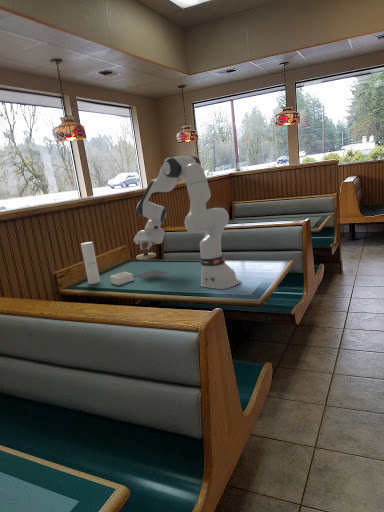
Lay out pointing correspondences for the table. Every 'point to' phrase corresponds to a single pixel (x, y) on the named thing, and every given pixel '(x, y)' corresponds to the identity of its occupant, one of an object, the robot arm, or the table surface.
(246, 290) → the table surface
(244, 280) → the table surface
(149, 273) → the mat
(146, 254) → the lid
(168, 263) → the table surface
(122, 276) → the white hollow square box
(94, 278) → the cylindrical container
